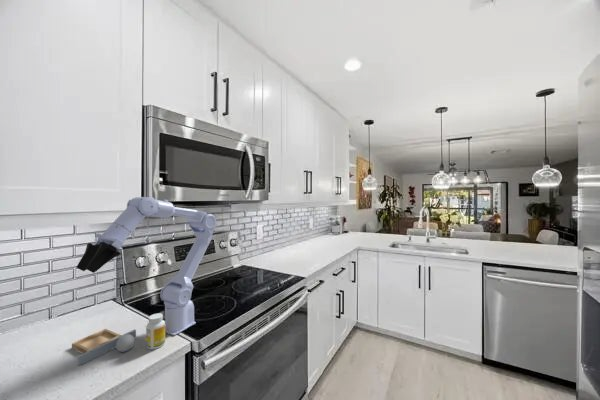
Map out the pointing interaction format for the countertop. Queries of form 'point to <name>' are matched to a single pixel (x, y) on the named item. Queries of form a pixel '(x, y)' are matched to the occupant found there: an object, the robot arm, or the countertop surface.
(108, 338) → the wooden dish
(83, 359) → the acrylic wall
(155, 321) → the supplement bottle
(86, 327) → the countertop surface
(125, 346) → the ball
